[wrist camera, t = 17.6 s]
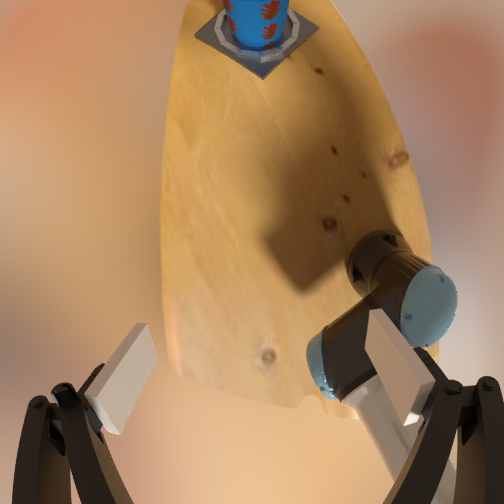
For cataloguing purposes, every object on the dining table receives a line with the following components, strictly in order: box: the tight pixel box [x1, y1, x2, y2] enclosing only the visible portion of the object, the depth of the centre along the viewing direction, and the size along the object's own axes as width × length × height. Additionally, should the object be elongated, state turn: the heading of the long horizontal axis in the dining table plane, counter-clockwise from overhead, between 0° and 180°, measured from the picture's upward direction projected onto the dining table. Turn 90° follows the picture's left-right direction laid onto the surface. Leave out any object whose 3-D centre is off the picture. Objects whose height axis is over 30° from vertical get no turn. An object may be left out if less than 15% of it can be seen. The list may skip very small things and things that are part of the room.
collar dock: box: [195, 7, 319, 80], centre depth 40 cm, size 18×18×2 cm
